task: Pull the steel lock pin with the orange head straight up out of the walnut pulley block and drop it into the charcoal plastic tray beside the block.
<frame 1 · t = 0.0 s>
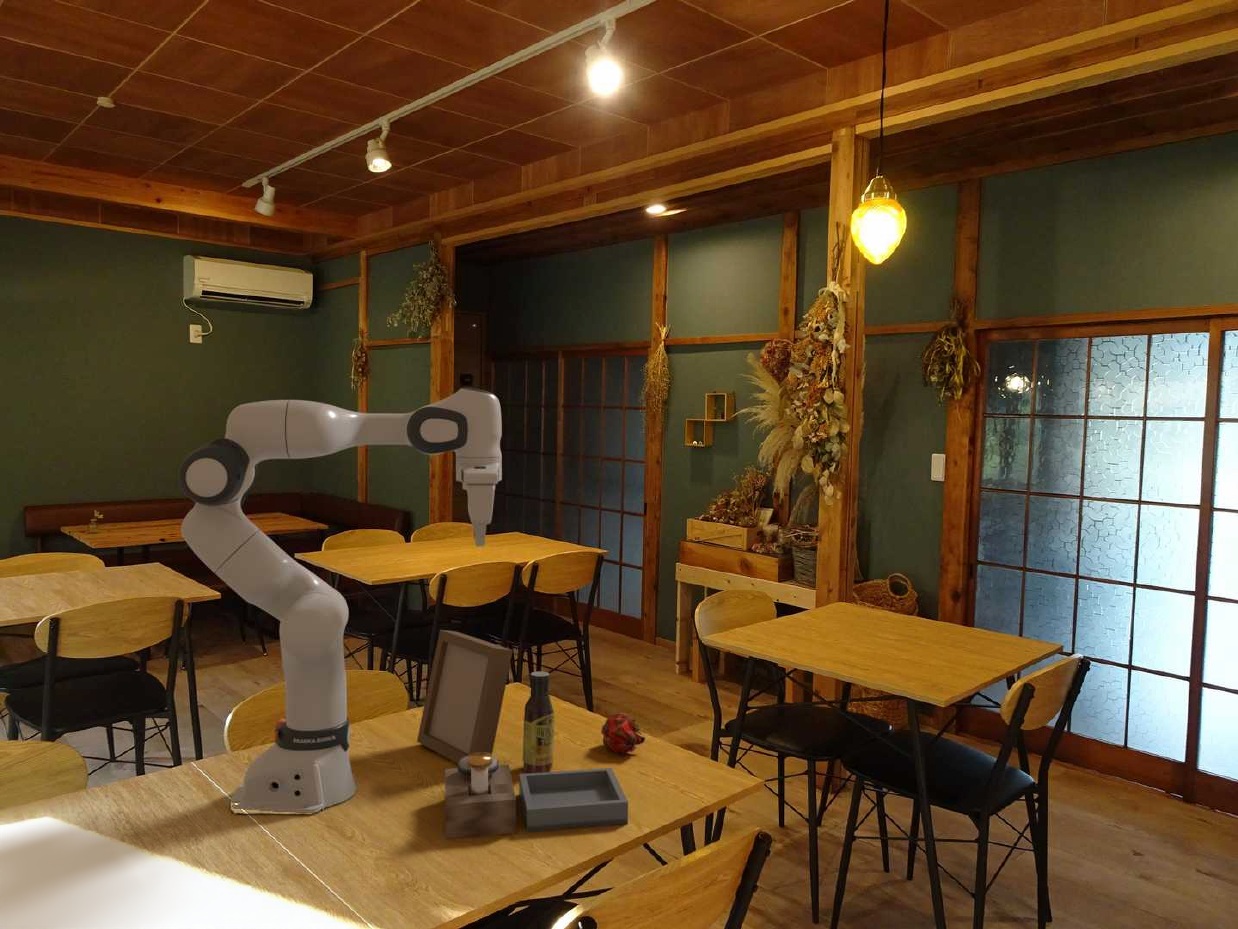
hand: (479, 542, 177), 48 cm above the table, tool pointing down, fingers open, 8 cm apart
lock pin: (479, 823, 162), resting in pulley block
photo frame: (472, 752, 196), on the table
pulley block: (479, 816, 165), on the table
sauce bottle: (538, 769, 187), on the table
dragon fruit: (621, 751, 197), on the table
tray: (571, 808, 168), on the table
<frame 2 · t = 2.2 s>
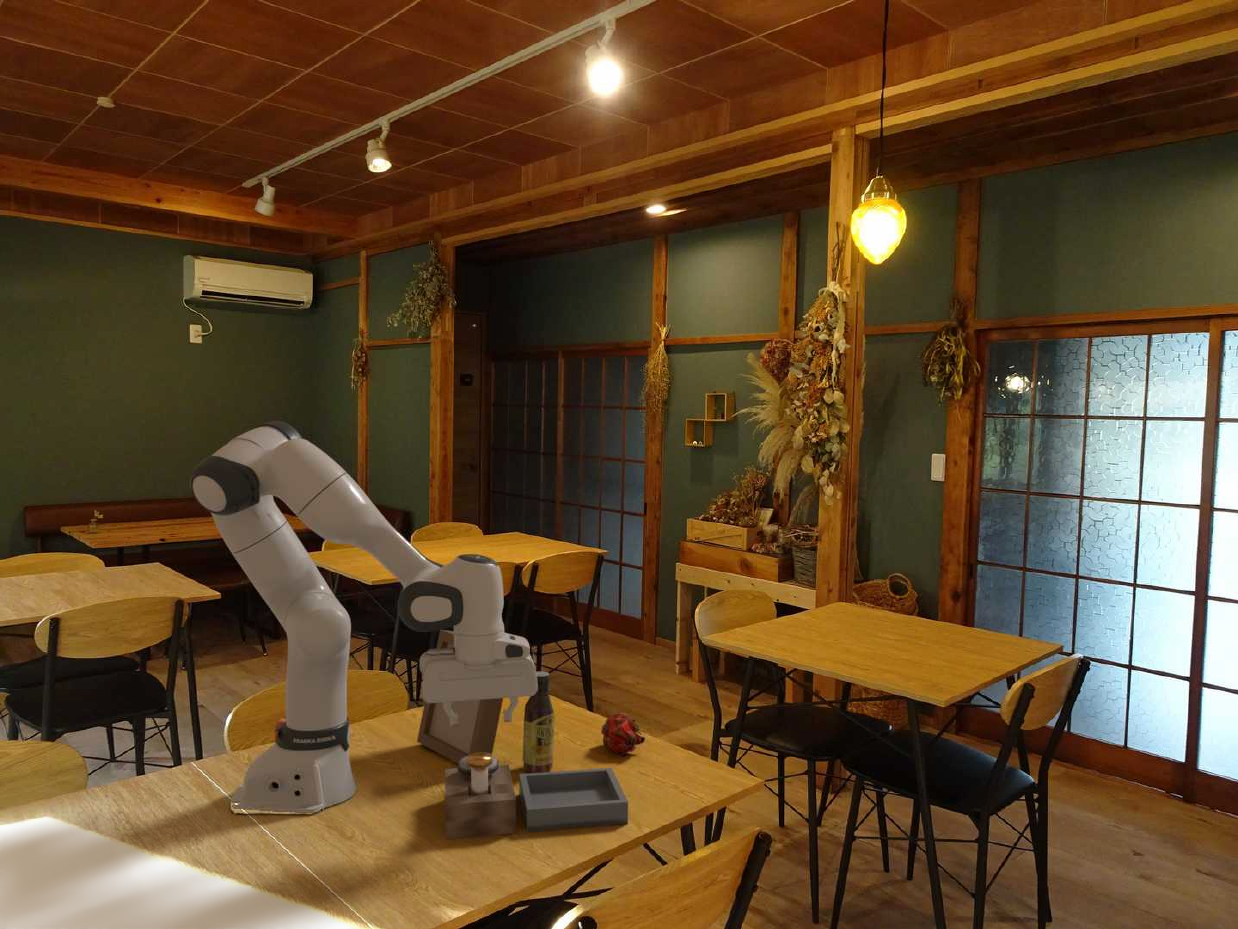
hand: (481, 723, 161), 18 cm above the table, tool pointing down, fingers open, 8 cm apart
nothing on the table moved.
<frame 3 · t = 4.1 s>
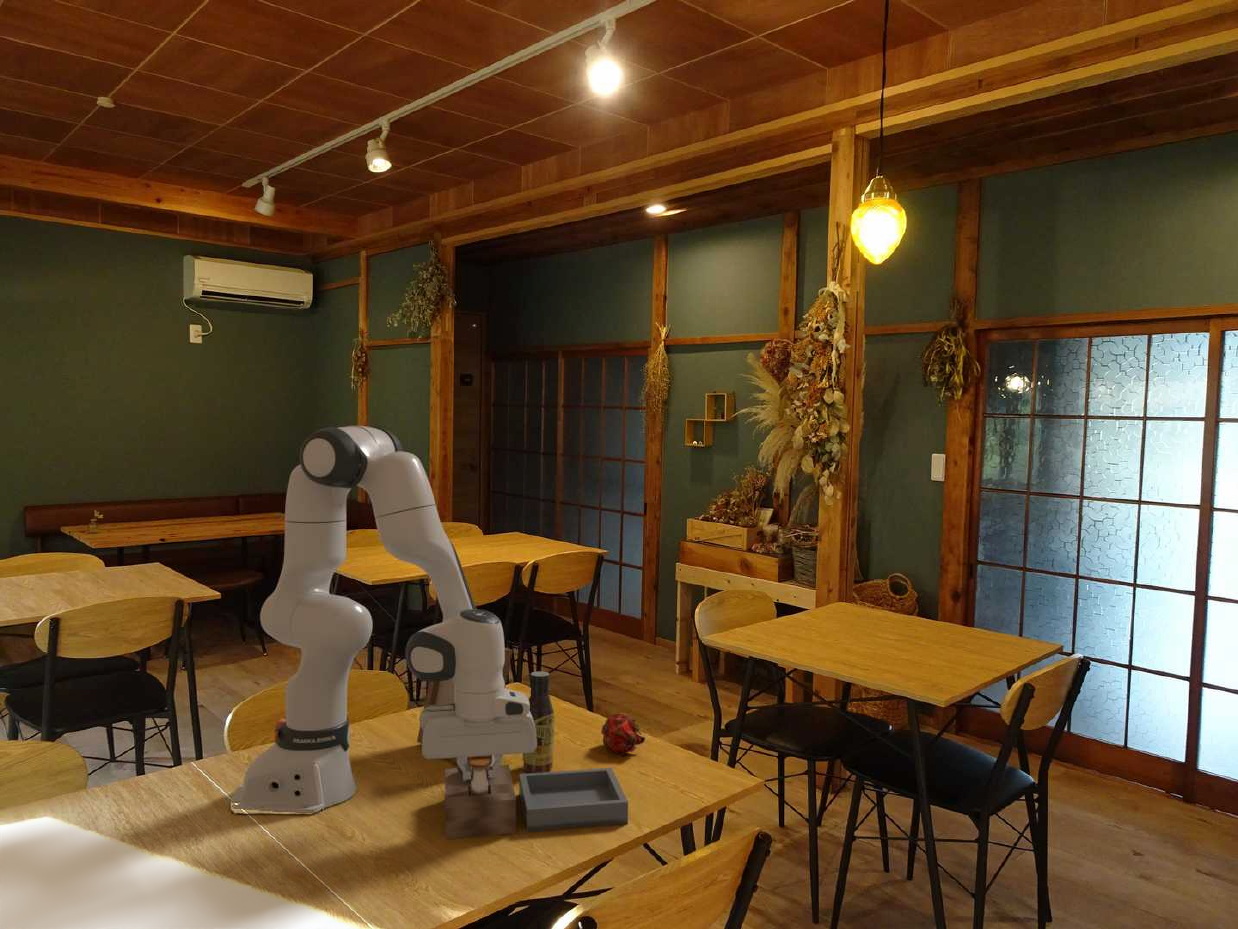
hand: (479, 778, 161), 8 cm above the table, tool pointing down, fingers closed on lock pin, 3 cm apart
lock pin: (479, 823, 162), resting in pulley block, touching gripper
everything else where it was.
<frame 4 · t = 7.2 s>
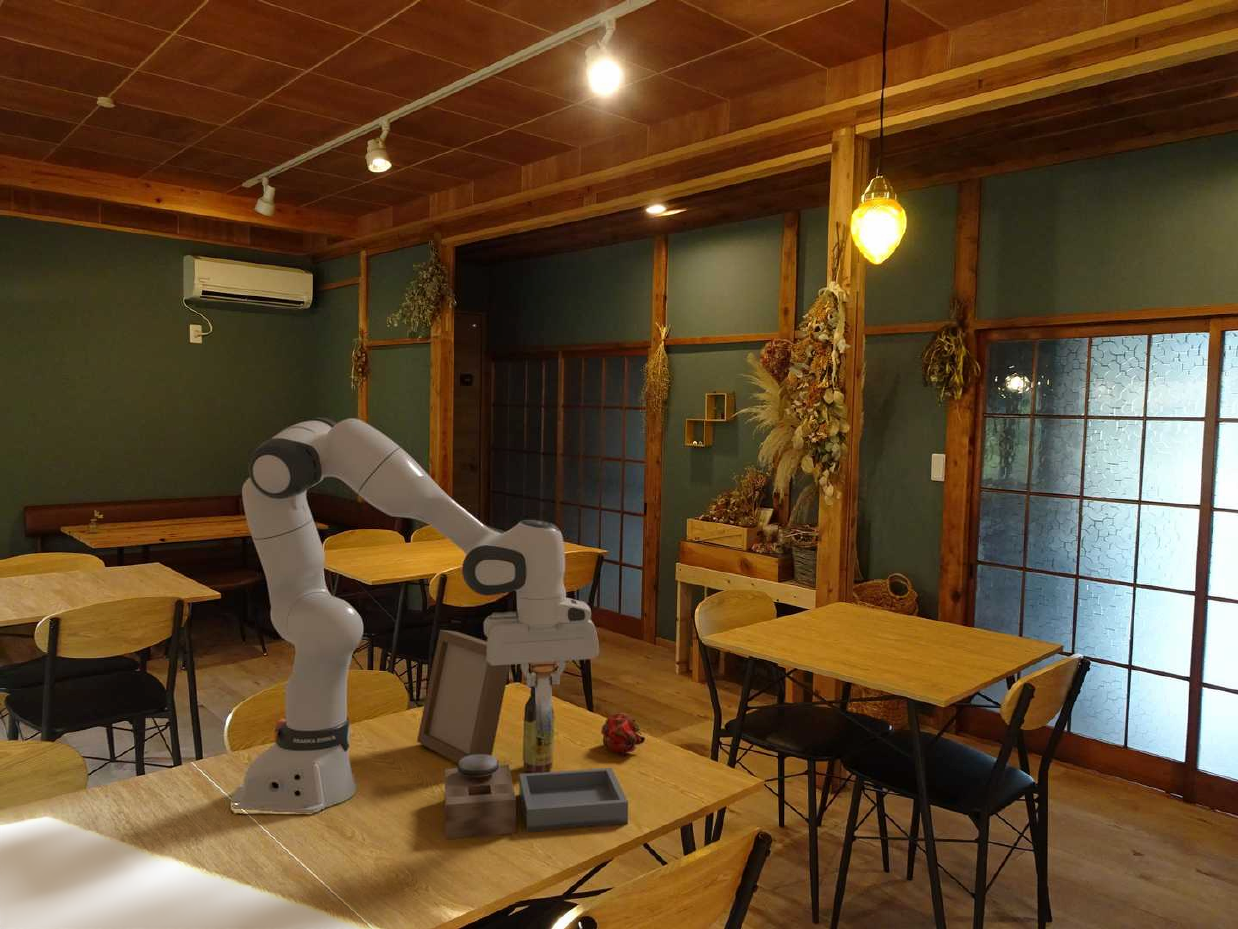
hand: (543, 685, 164), 24 cm above the table, tool pointing down, fingers closed on lock pin, 3 cm apart
lock pin: (544, 730, 164), point 16 cm above the table, touching gripper
everything else where it was.
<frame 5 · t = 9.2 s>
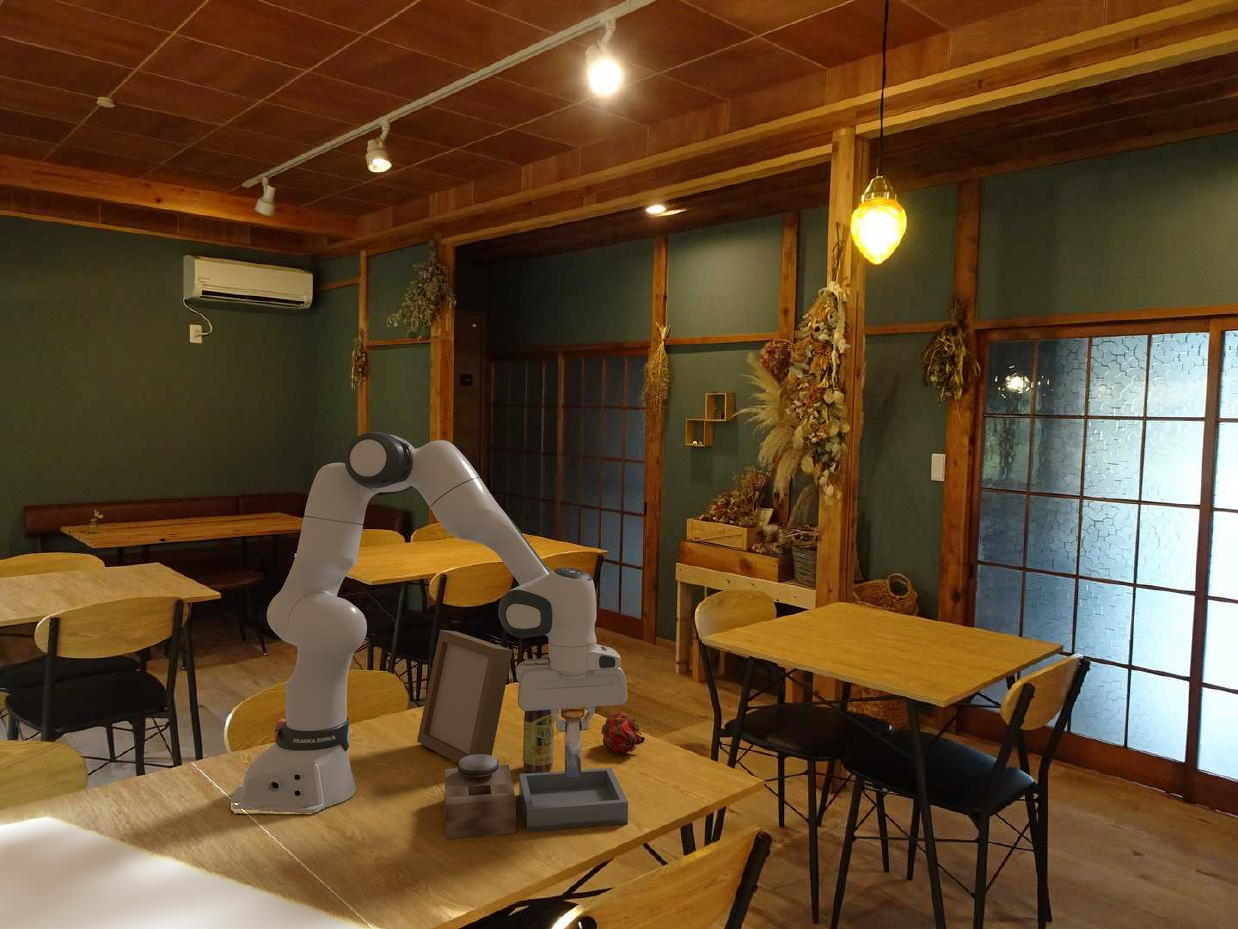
hand: (572, 730, 167), 15 cm above the table, tool pointing down, fingers closed on lock pin, 3 cm apart
lock pin: (572, 774, 168), point 6 cm above the table, touching gripper
everything else where it was.
when the fingers open (12 cm above the table, at t = 10.6 s): lock pin drops 1 cm, resting on tray.
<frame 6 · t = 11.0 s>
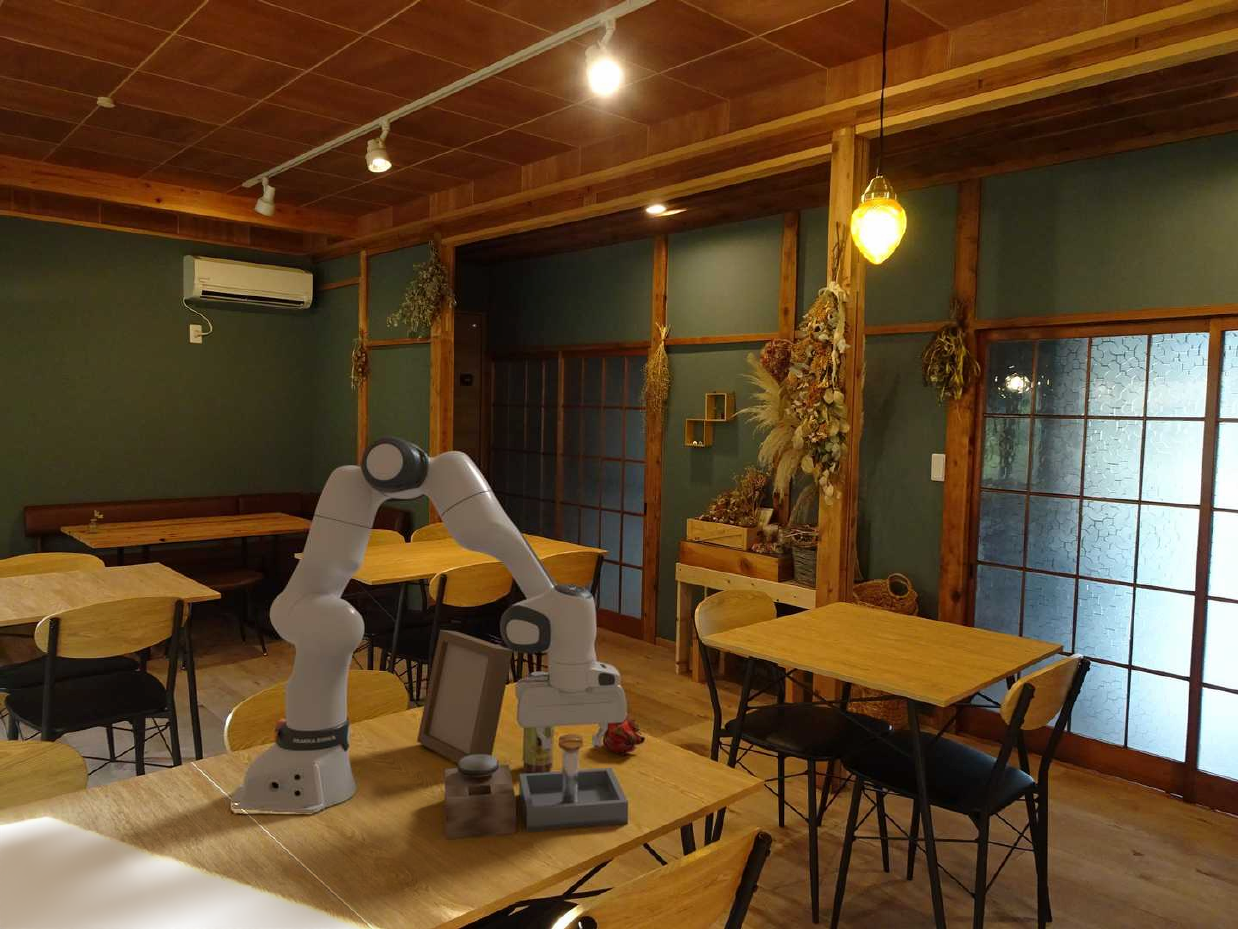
hand: (571, 747, 167), 12 cm above the table, tool pointing down, fingers open, 8 cm apart
lock pin: (569, 802, 168), point 1 cm above the table, touching tray
everything else where it was.
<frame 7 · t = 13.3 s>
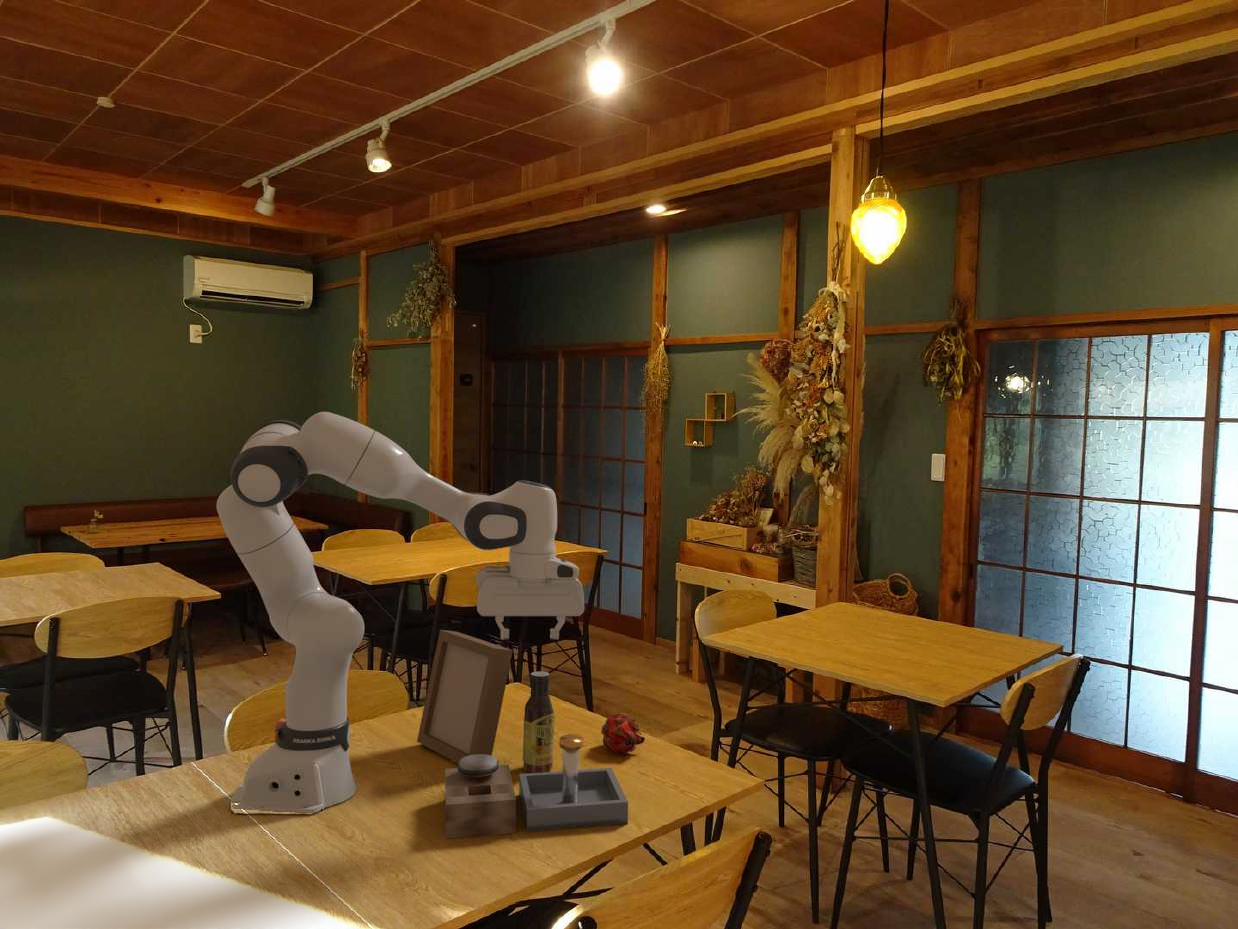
hand: (529, 638, 172), 30 cm above the table, tool pointing down, fingers open, 8 cm apart
nothing on the table moved.
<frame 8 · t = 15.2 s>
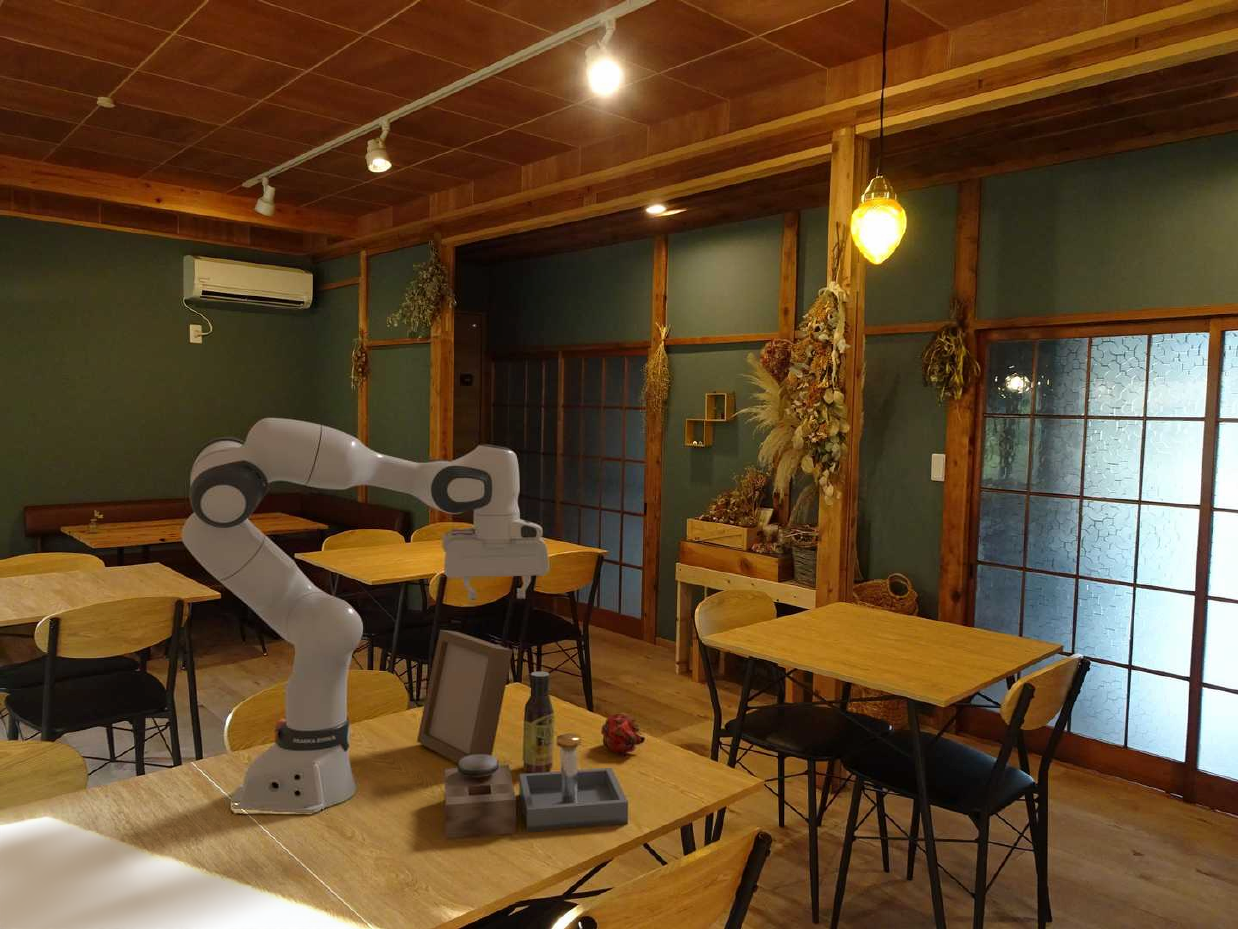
hand: (496, 599, 176), 37 cm above the table, tool pointing down, fingers open, 8 cm apart
at the end: lock pin inside the target area on the tray (0.4 cm from its centre), point 1.1 cm above the tray's base; the gripper is holding nothing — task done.
